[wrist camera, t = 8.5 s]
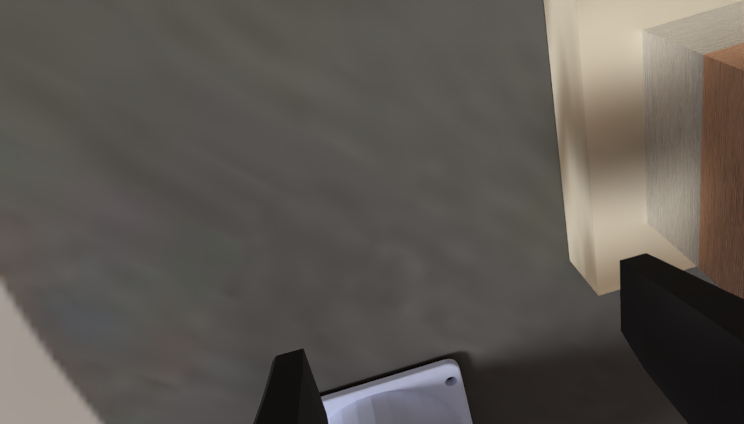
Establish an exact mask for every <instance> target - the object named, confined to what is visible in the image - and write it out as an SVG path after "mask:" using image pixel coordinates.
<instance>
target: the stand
mask: <svg viewBox="0 0 744 424" xmlns="http://www.w3.org/2000/svg"><path fill="white" fill-rule="evenodd" d="M740 1H744V0H544V8H545V18H546V28H547V38H548V48H549V58H550V68H551V78H552V88H553V98H554V108H555V118H556V128H557V138H558V148H559V158H560V167H561V177H562V187H563V197H564V207H565V217H566V227H567V237H568V247H569V257H570V261H571V262H572V264H573V265H574V266H575V267H576V269H577V270H578V271H579V272H580V273H581V275H582V276H583V277H584V278H585V280H586V281H587V282H588V283H589V284H590V286H591V287H592V288H593V289H594V291H595V292H596V293H597V294H598V296H599V295H602V294H606V293H609V292H612V291H616V290H619V289H620V260H623V259H627V258H630V257H634V256H637V255H641V254H645V253H647V254H649V255H651V256H654V257H656V258H658V259H660V260H662V261H664V262H667V263H669V264H671V265H673V266H675V267H677V268H679V269H681V270H686V269H689V268H692V267H696V265H695V264H693V263H692V262H691V261H690V260H689V259H688V258H687V257H686V256H684V255H683V254H682V253H681V252H680V251H679V250H678V249H676V248H675V247H674V246H673V245H672V244H671V243H670V242H669V241H667V240H666V239H665V238H664V237H663V236H662V235H661V234H660V233H658V232H657V231H656V230H655V229H654V228H653V227H652V226H651V225H649V224H648V223H647V194H646V156H645V118H644V79H643V41H642V30H644V29H648V28H651V27H654V26H658V25H661V24H665V23H668V22H672V21H675V20H678V19H682V18H685V17H689V16H692V15H696V14H699V13H702V12H706V11H709V10H713V9H716V8H720V7H723V6H726V5H730V4H733V3H737V2H740Z"/></svg>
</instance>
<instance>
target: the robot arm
mask: <svg viewBox="0 0 744 424" xmlns="http://www.w3.org/2000/svg"><path fill="white" fill-rule="evenodd" d="M620 299H621V331H622V333H623V335H624V336H625V338H626V340H627V341H628V343H629V345H630V346H631V348H632V350H633V351H634V353H635V355H636V356H637V358H638V359H639V361H640V363H641V364H642V366H643V367H644V369H645V370H646V372H647V373H648V374H649V375H650V377H651V378H652V379H653V380H654V382H655V383H656V384H657V385H658V387H659V388H660V389H661V390H662V392H663V393H664V394H665V396H666V397H667V398H668V399H669V400H670V402H671V403H672V404H673V405H674V407H675V408H676V409H677V410H678V412H679V413H680V414H681V415H682V416H683V418H684V419H685V420H686V421H687V423H688V424H744V299H743V298H741V297H738V296H736V295H734V294H732V293H729V292H727V291H725V290H723V289H721V288H719V287H716V286H714V285H712V284H710V283H708V282H706V281H704V280H702V279H700V278H698V277H695V276H693V275H691V274H689V273H687V272H685V271H683V270H681V269H679V268H677V267H675V266H673V265H671V264H669V263H667V262H664V261H662V260H660V259H658V258H656V257H654V256H651V255H649V254H647V253H645V254H641V255H637V256H634V257H630V258H627V259H623V260H620ZM449 377H453V378H452V379H450V380H446V379H447V378H449ZM253 424H473V423H472V419H471V415H470V410H469V406H468V402H467V398H466V393H465V389H464V385H463V380H462V376H461V372H460V368H459V366H458V364H457V362H456V361H455V360H453V359H444V360H441V361H438V362H435V363H431V364H428V365H425V366H421V367H418V368H415V369H411V370H408V371H405V372H401V373H398V374H395V375H391V376H388V377H385V378H381V379H378V380H375V381H371V382H368V383H365V384H362V385H358V386H355V387H352V388H348V389H345V390H342V391H338V392H335V393H332V394H328V395H325V396H322V397H321V396H320V394H319V391H318V388H317V385H316V383H315V380H314V377H313V374H312V371H311V369H310V366H309V363H308V360H307V357H306V355H305V352H304V349H300V350H296V351H292V352H289V353H285V354H282V355H278V356H276V357H275V358H274V360H273V362H272V366H271V370H270V374H269V377H268V381H267V384H266V388H265V391H264V394H263V397H262V400H261V403H260V406H259V409H258V412H257V415H256V418H255V420H254V423H253Z"/></svg>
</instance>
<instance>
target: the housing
mask: <svg viewBox="0 0 744 424" xmlns="http://www.w3.org/2000/svg"><path fill="white" fill-rule="evenodd" d="M642 41H643V79H644V118H645V156H646V194H647V223H648V224H649V225H651V226H652V227H653V228H654V229H655V230H656V231H657V232H658V233H660V234H661V235H662V236H663V237H664V238H665V239H666V240H667V241H669V242H670V243H671V244H672V245H673V246H674V247H675V248H676V249H678V250H679V251H680V252H681V253H682V254H683V255H684V256H686V257H687V258H688V259H689V260H690V261H691V262H692V263H693V264H695V265H696V266H697V267H698V268H699V269H700V270H701V271H702V272H704V273H705V274H706V275H707V276H708V277H709V278H710V279H711V280H713V281H714V282H715V283H716V284H717V285H718V286H719V287H720V288H722V289H723V290H725V291H727V292H729V293H732V294H734V295H736V296H738V297H741V298H743V299H744V1H740V2H737V3H733V4H730V5H726V6H723V7H720V8H716V9H713V10H709V11H706V12H702V13H699V14H696V15H692V16H689V17H685V18H682V19H678V20H675V21H672V22H668V23H665V24H661V25H658V26H654V27H651V28H648V29H644V30H642Z"/></svg>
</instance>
